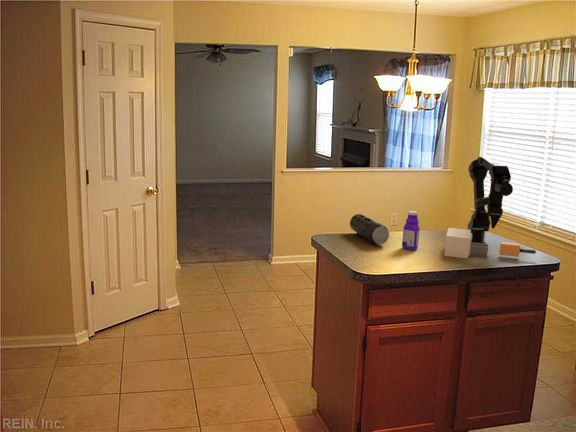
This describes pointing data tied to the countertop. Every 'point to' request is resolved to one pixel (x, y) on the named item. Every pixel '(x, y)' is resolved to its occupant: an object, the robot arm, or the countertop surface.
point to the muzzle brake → (369, 229)
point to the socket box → (463, 244)
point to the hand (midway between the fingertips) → (492, 226)
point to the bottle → (411, 232)
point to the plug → (512, 249)
